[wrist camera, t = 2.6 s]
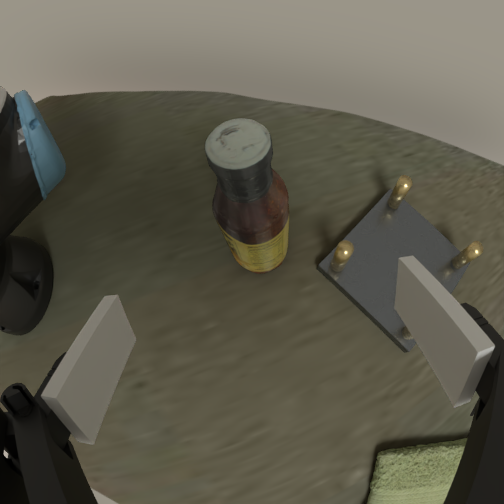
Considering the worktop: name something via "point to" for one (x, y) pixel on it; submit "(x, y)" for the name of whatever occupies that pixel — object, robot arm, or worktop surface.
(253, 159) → the sauce bottle
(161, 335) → the worktop surface
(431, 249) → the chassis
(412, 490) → the washcloth
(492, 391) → the robot arm
